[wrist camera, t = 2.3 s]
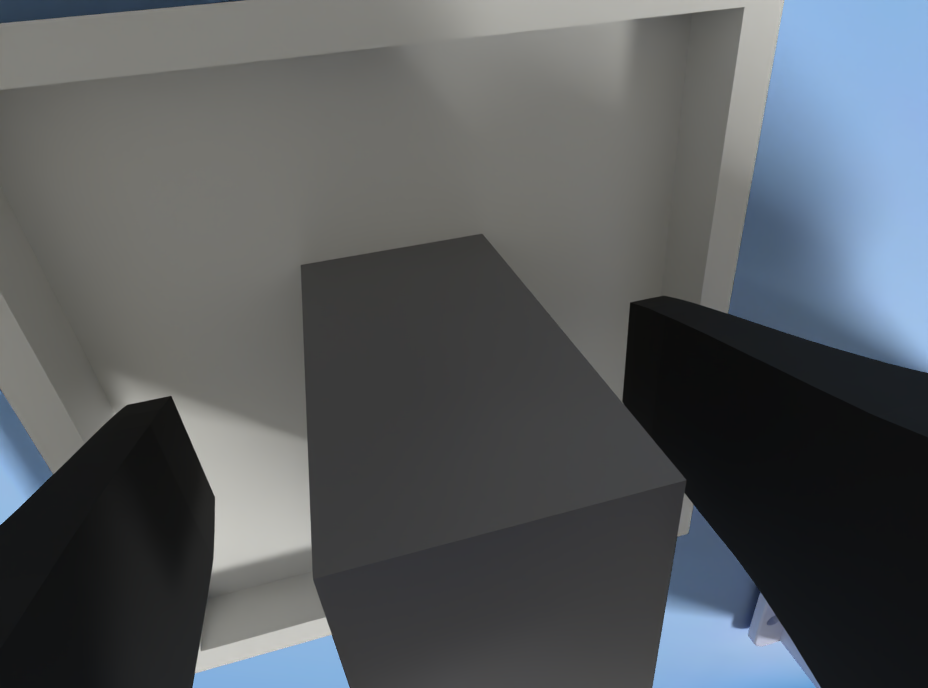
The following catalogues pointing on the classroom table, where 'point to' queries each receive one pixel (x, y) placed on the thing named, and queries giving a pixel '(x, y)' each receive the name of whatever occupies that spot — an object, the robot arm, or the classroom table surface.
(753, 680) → the classroom table surface
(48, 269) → the tray
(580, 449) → the plug
